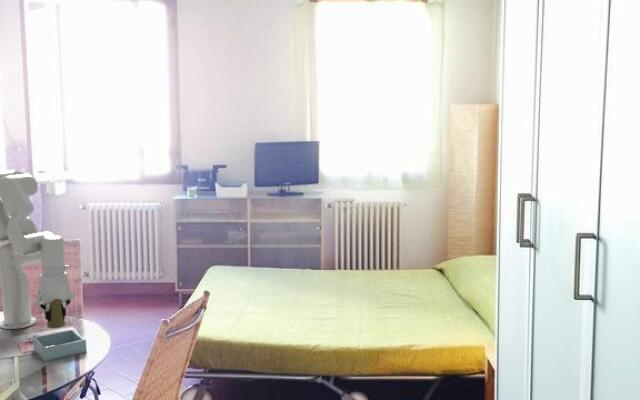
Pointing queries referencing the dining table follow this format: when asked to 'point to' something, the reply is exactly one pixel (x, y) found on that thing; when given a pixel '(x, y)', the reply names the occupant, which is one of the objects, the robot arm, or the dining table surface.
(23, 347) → the dining table surface
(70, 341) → the bin
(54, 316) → the cork
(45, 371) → the dining table surface
